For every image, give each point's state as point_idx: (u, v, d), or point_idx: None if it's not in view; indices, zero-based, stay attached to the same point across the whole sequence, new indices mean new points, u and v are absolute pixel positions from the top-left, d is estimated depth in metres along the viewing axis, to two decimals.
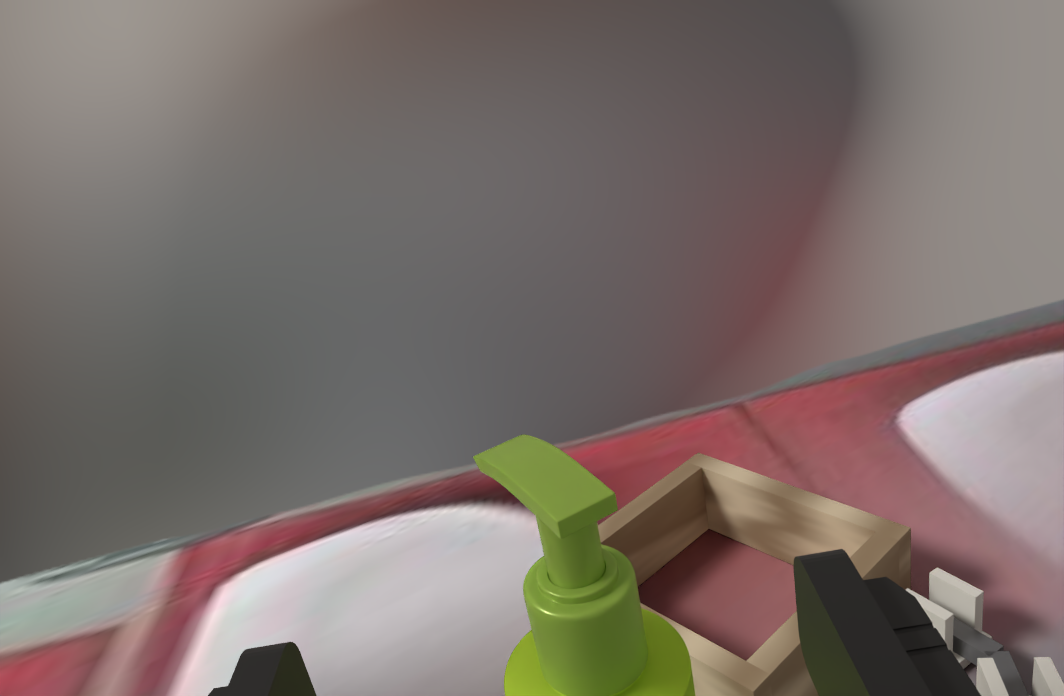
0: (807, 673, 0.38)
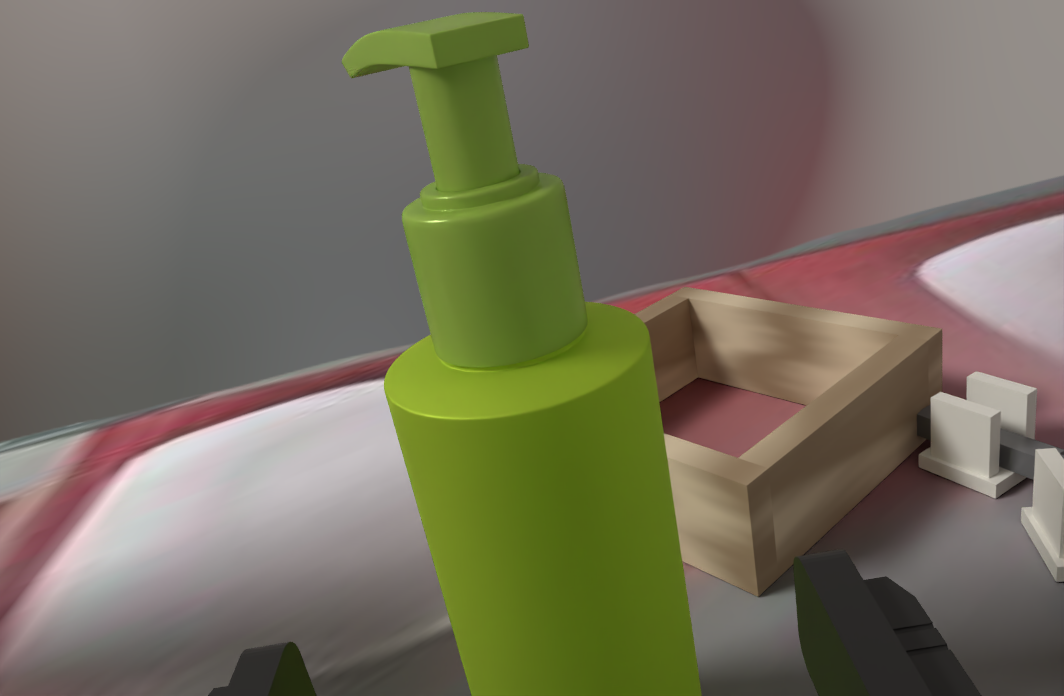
0: (816, 483, 0.30)
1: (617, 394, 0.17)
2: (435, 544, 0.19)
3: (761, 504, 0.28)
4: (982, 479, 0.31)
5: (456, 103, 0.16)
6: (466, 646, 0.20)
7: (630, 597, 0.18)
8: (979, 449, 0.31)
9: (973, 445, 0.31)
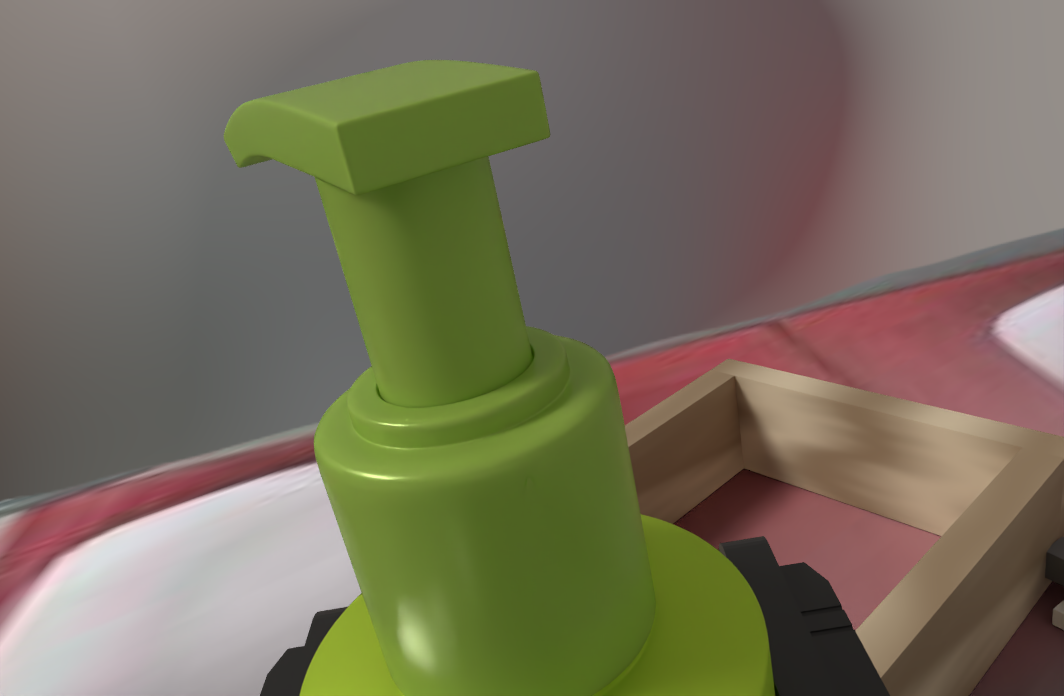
0: (937, 673, 0.22)
1: None
2: None
3: None
4: None
5: (405, 248, 0.08)
6: None
7: None
8: None
9: None
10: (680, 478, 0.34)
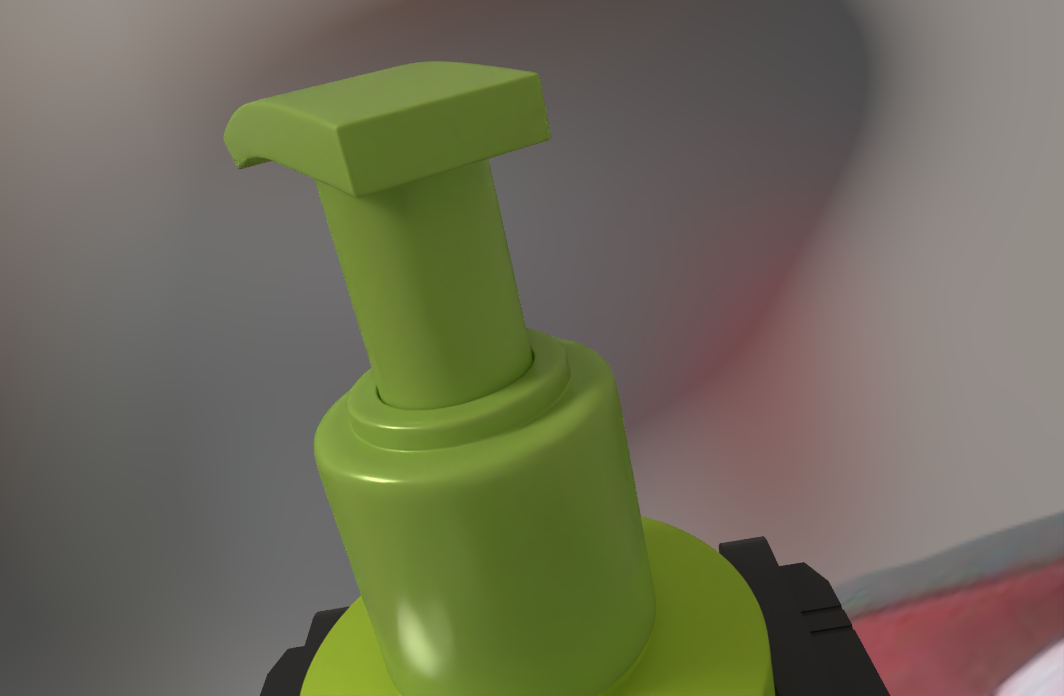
0: None
1: None
2: None
3: None
4: None
5: (405, 250, 0.08)
6: None
7: None
8: None
9: None
10: None
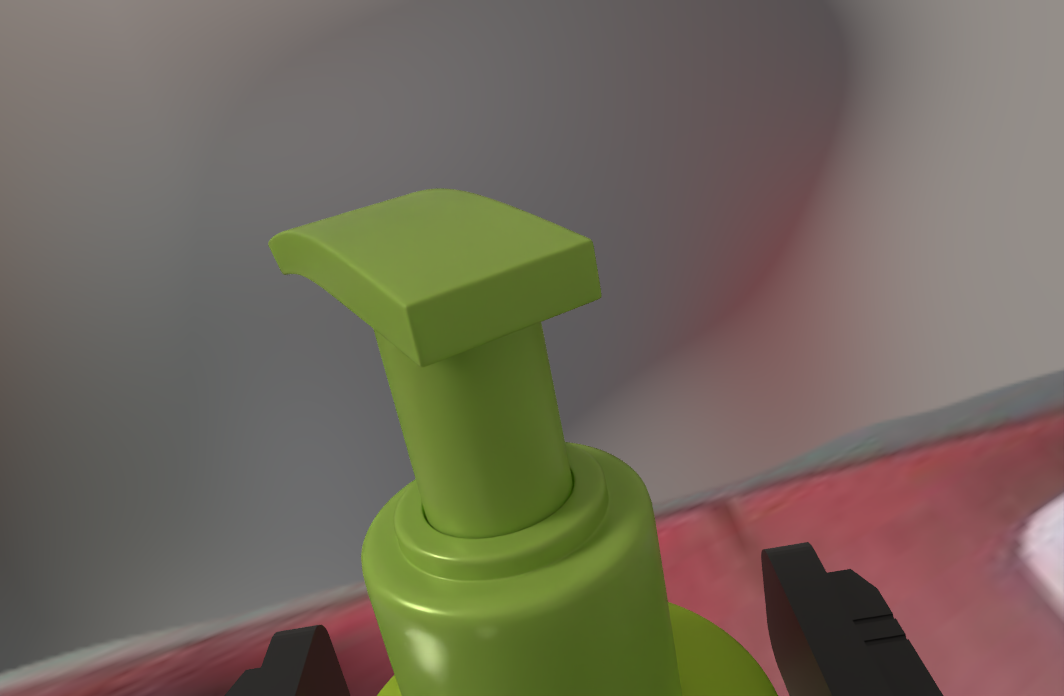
0: None
1: None
2: None
3: None
4: None
5: (459, 397, 0.08)
6: None
7: None
8: None
9: None
10: None
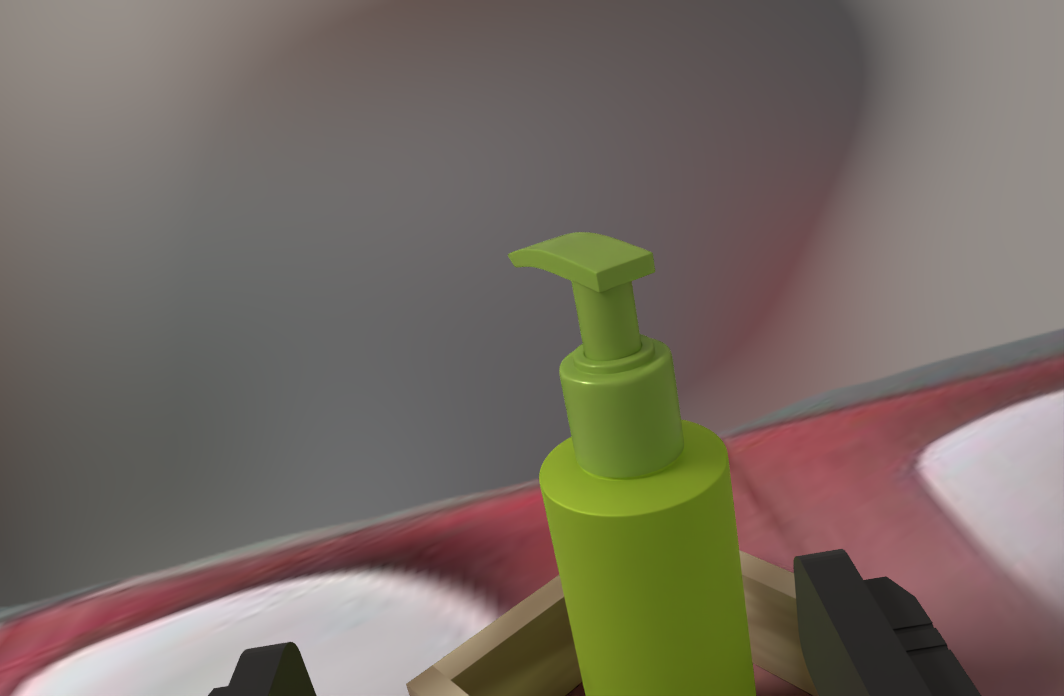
0: None
1: (709, 498, 0.24)
2: (575, 597, 0.26)
3: None
4: None
5: (605, 306, 0.24)
6: (592, 669, 0.27)
7: (714, 636, 0.26)
8: None
9: None
10: None
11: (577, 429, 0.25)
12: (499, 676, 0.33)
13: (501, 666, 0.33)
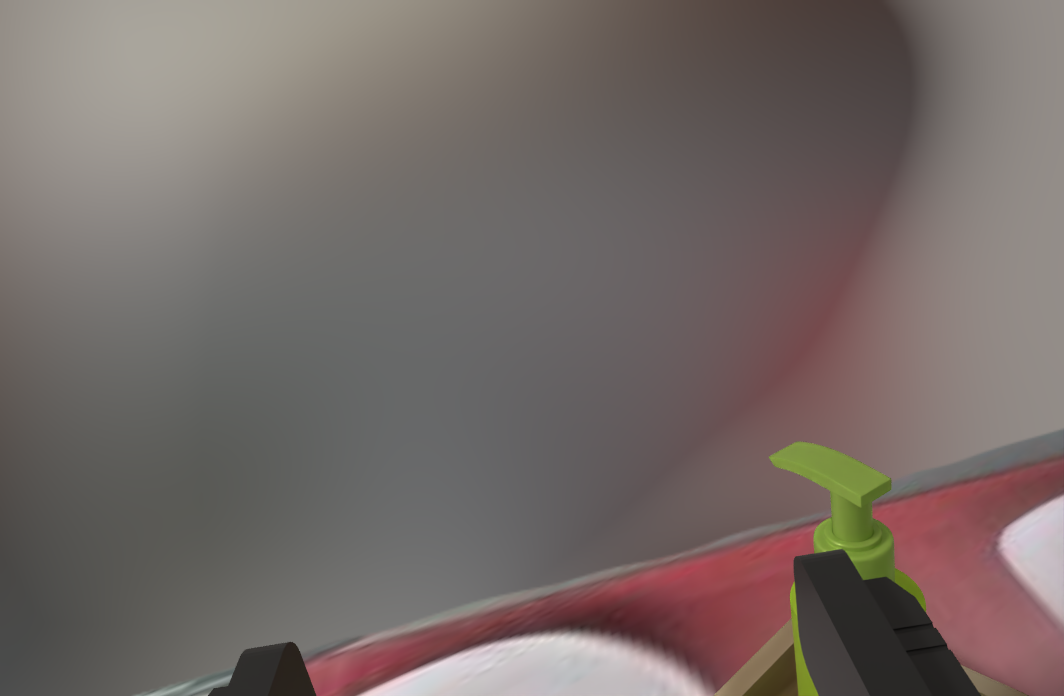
0: None
1: None
2: None
3: None
4: None
5: (857, 510, 0.36)
6: None
7: None
8: None
9: None
10: (783, 693, 0.49)
11: None
12: None
13: None
